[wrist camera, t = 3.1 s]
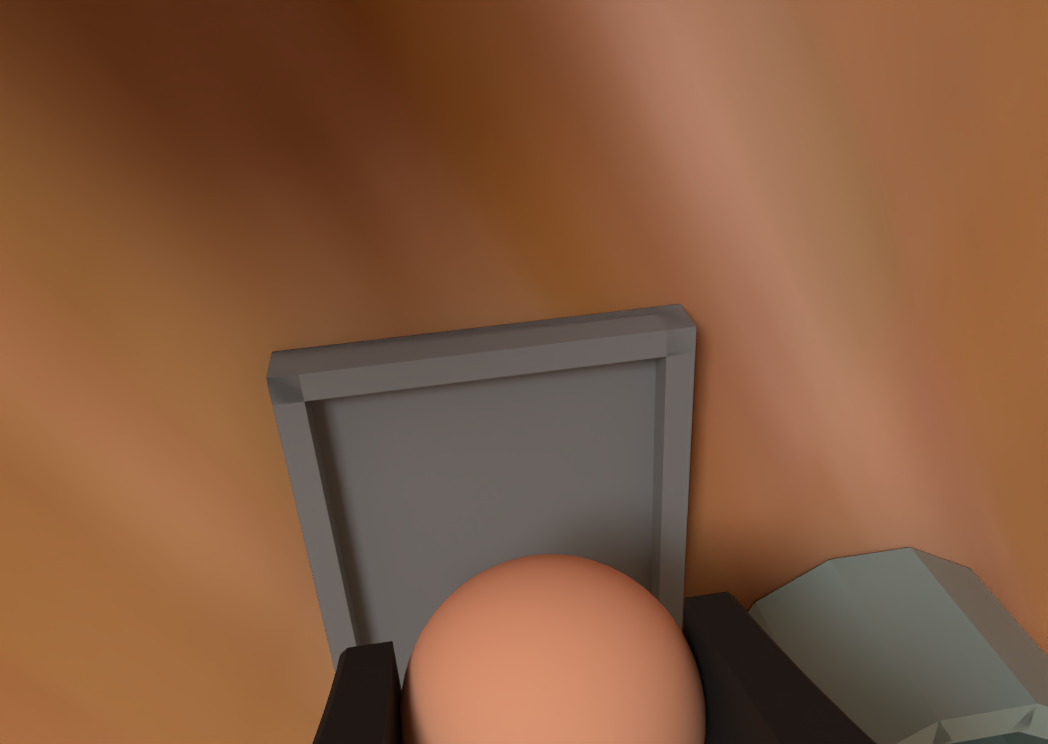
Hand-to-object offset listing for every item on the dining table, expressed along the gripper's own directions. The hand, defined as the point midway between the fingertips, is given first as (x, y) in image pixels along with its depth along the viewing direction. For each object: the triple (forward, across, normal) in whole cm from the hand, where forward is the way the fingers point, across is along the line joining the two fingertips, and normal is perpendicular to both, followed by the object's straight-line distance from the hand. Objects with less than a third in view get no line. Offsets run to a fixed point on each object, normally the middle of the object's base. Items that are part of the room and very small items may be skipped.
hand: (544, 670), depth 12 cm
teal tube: (+5, -8, +7) cm, 12 cm away
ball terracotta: (+1, 0, 0) cm, 1 cm away
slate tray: (+5, 0, +3) cm, 6 cm away
